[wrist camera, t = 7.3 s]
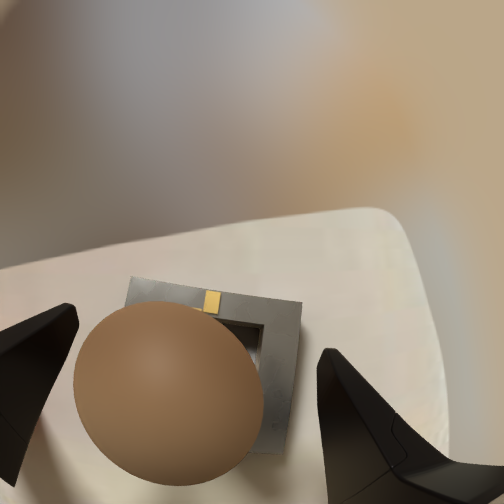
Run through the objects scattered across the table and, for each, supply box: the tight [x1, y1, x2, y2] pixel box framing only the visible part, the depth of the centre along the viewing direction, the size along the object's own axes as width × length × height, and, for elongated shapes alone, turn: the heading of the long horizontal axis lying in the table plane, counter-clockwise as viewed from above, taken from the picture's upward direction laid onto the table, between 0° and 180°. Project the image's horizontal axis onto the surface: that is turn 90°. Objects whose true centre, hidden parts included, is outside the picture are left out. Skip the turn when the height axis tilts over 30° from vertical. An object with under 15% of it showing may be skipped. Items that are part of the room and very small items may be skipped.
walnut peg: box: [73, 301, 264, 486], centre depth 11 cm, size 4×4×12 cm
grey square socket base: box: [125, 276, 302, 454], centre depth 15 cm, size 9×10×3 cm
